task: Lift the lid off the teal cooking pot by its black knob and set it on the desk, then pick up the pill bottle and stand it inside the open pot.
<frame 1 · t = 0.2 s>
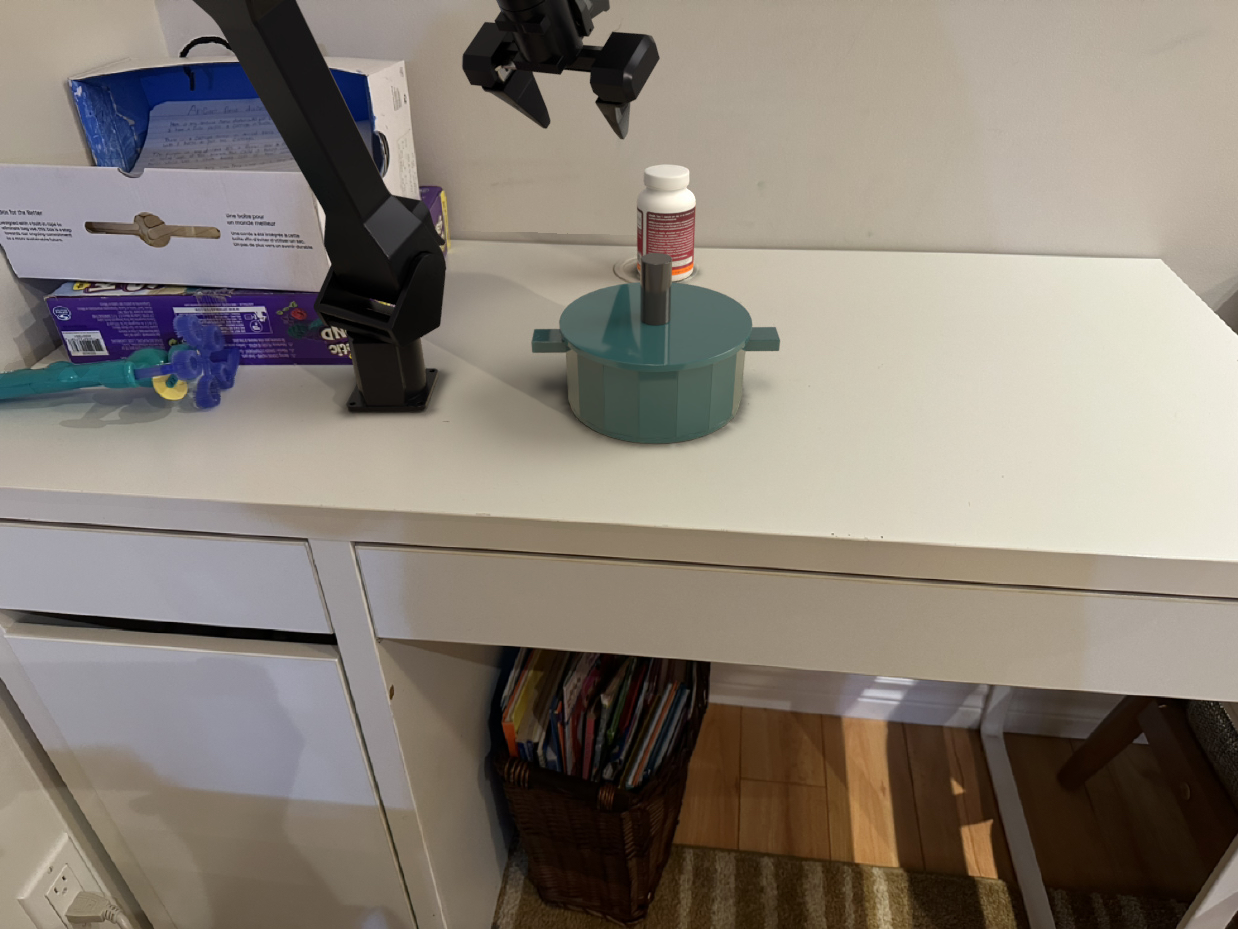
hand: (585, 130, 85), 15 cm above the table, tool tilted 30°, fingers open, 9 cm apart
tin lid: (655, 326, 67), point 6 cm above the table, touching teal cooking pot
pill bottle: (664, 274, 93), on the table
teal cooking pot: (654, 397, 70), on the table
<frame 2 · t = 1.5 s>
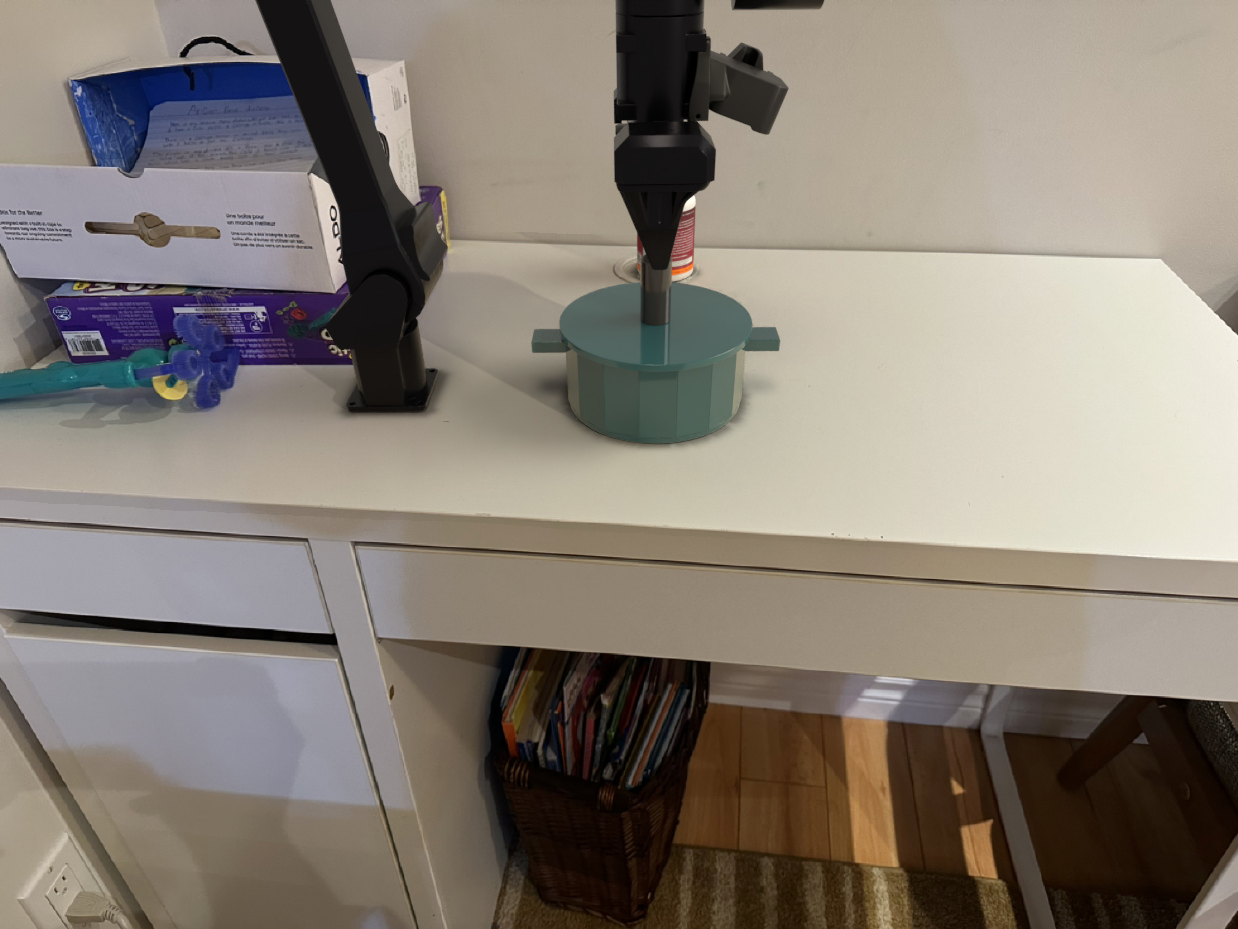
hand: (657, 245, 63), 13 cm above the table, tool pointing down, fingers open, 9 cm apart
nothing on the table moved.
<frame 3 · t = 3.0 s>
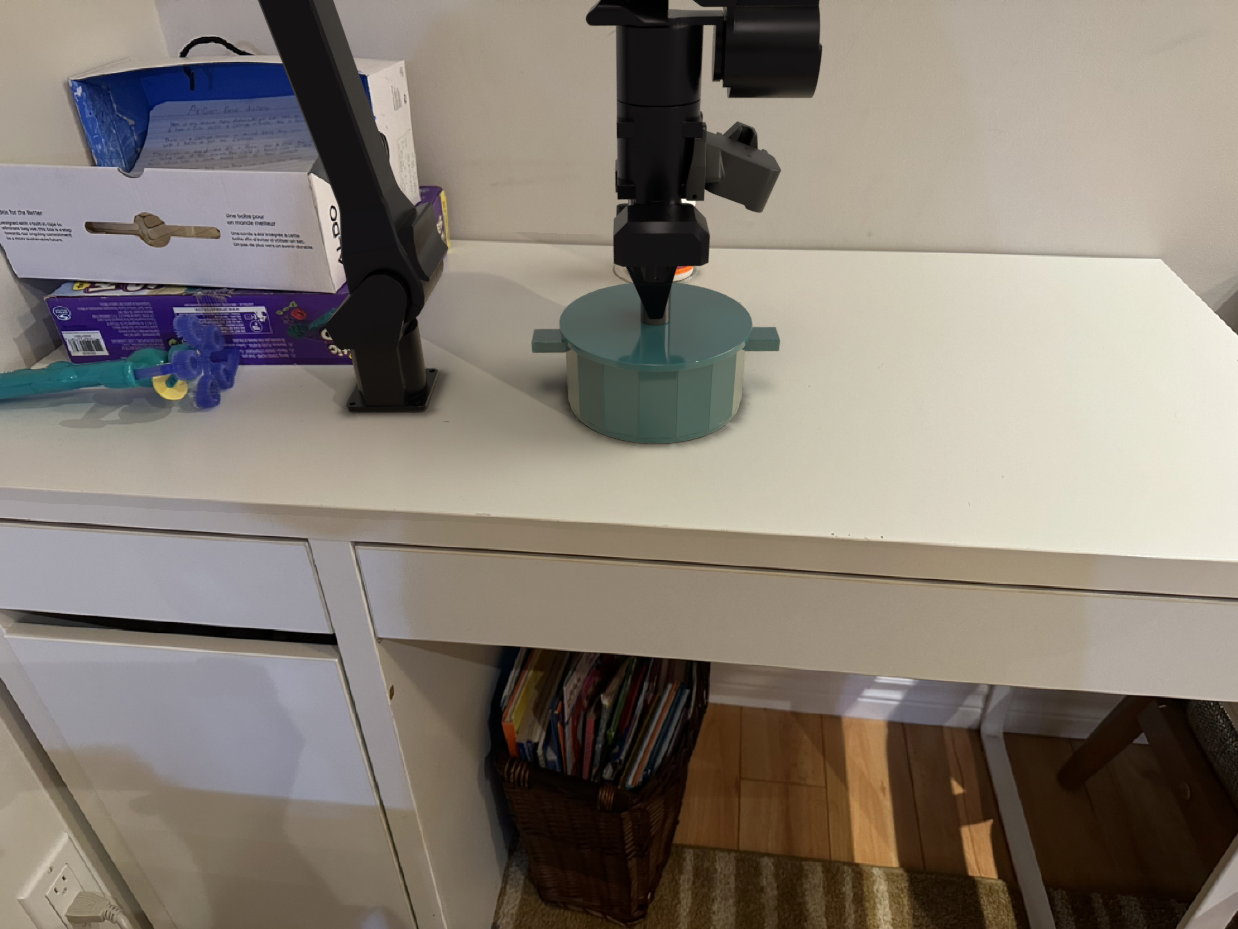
hand: (655, 310, 66), 8 cm above the table, tool pointing down, fingers closed on tin lid, 2 cm apart
tin lid: (655, 326, 67), point 6 cm above the table, touching gripper, teal cooking pot
everything else where it was.
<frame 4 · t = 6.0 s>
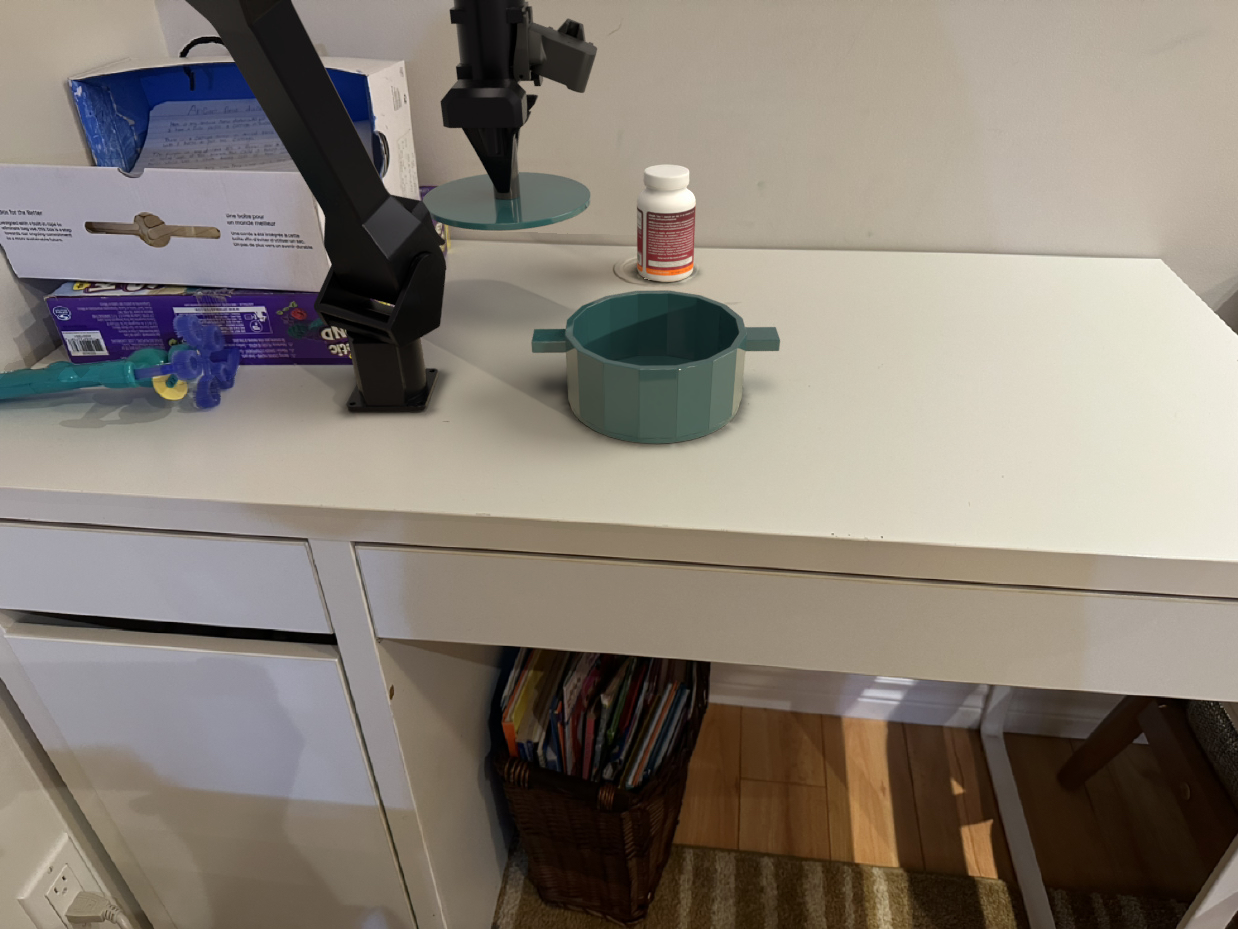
hand: (505, 187, 76), 13 cm above the table, tool pointing down, fingers closed on tin lid, 2 cm apart
tin lid: (507, 202, 77), point 11 cm above the table, touching gripper
everything else where it was.
when the fingers open (2 cm above the table, at t = 8.8 s): tin lid stays where it is, point 1 cm above the table.
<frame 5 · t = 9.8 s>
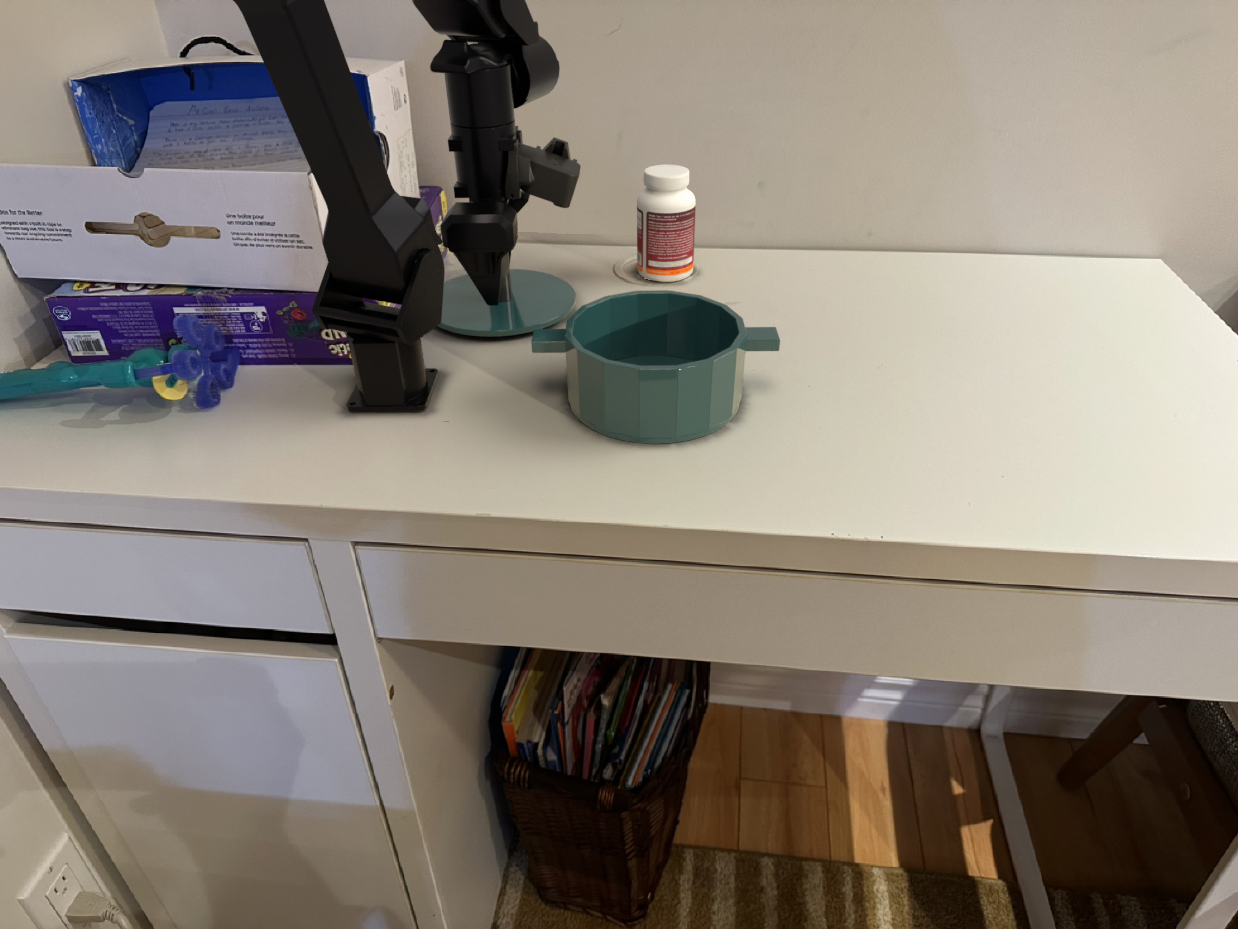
hand: (498, 285, 84), 2 cm above the table, tool pointing down, fingers open, 9 cm apart
tin lid: (500, 303, 85), point 1 cm above the table
everything else where it was.
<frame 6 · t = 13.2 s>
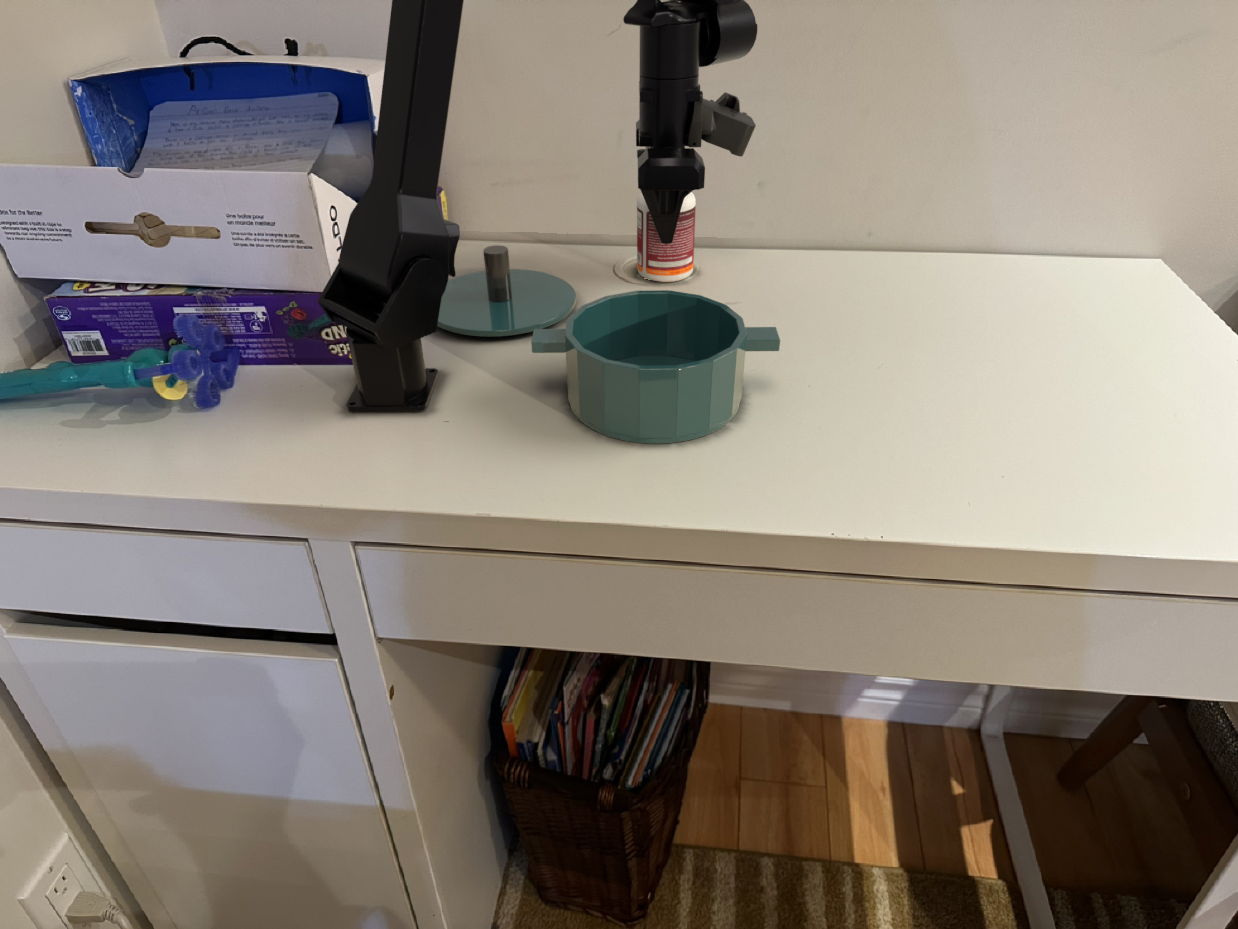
hand: (665, 232, 90), 5 cm above the table, tool pointing down, fingers closed on pill bottle, 6 cm apart
pill bottle: (664, 274, 93), on the table, touching gripper
everything else where it was.
when the fingers open (5 cm above the table, at t = 19.4 s): pill bottle stays where it is, resting on teal cooking pot.
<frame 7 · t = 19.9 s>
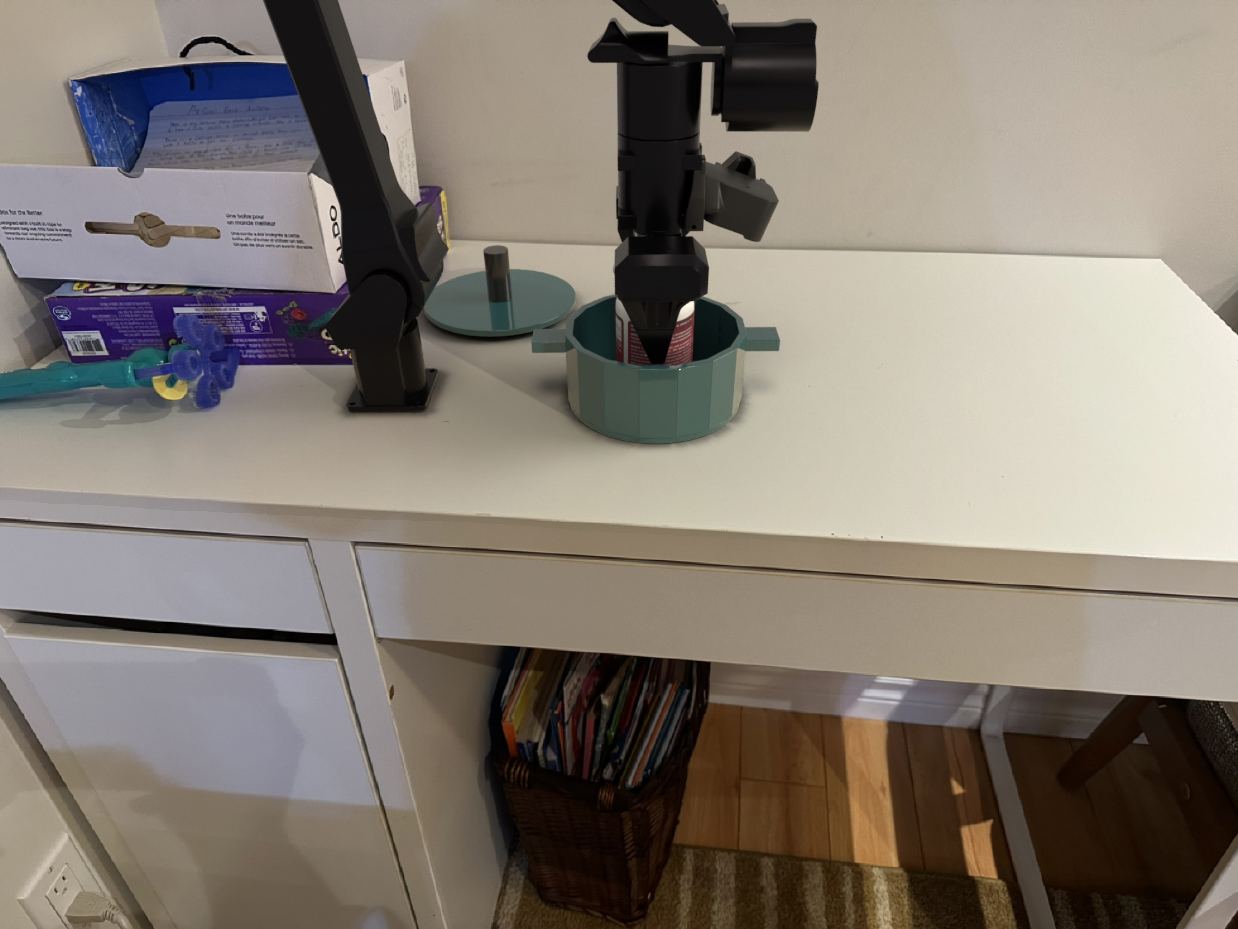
hand: (655, 335, 67), 6 cm above the table, tool pointing down, fingers open, 9 cm apart
pill bottle: (653, 393, 70), resting on teal cooking pot
everything else where it was.
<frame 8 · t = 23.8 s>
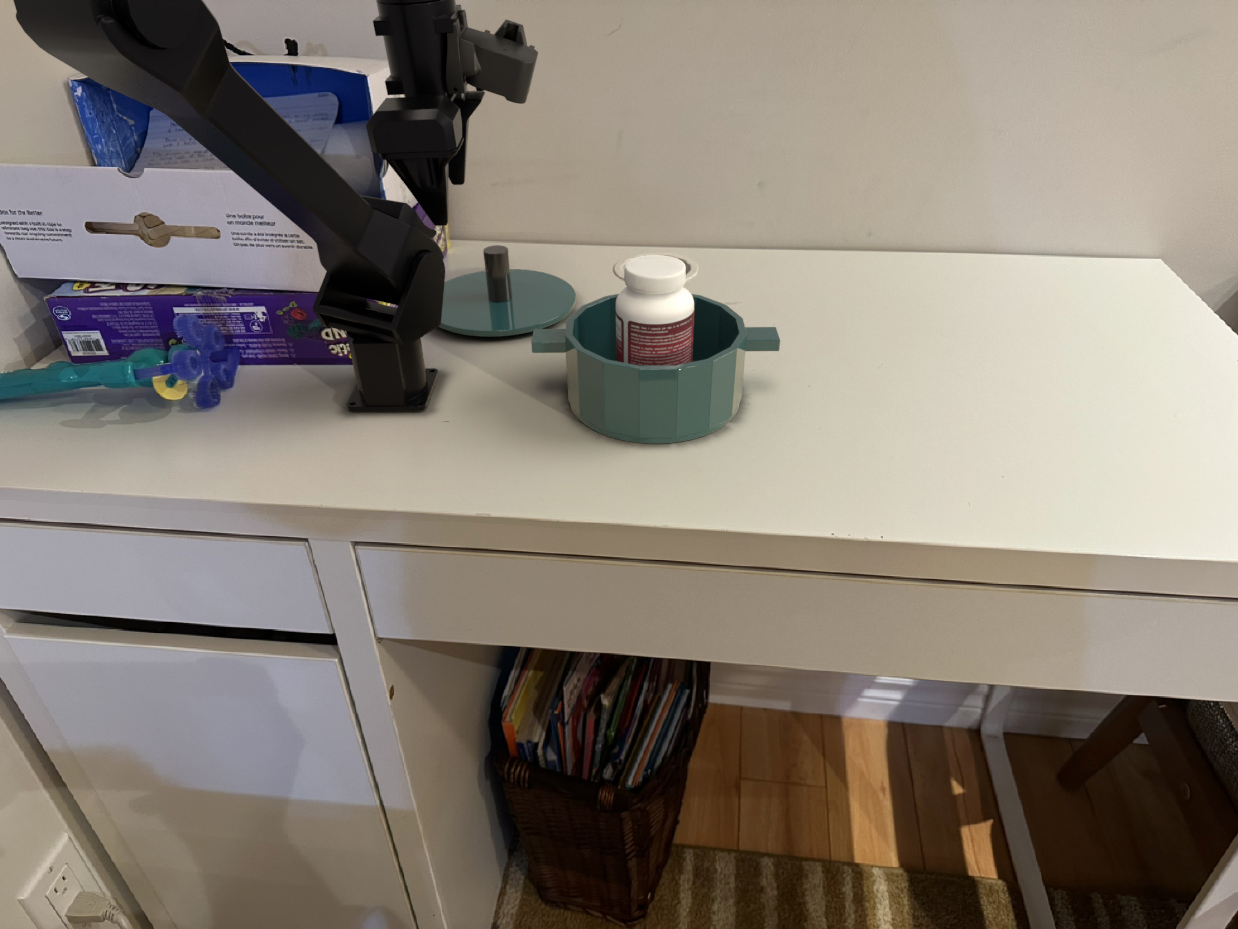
hand: (450, 203, 72), 13 cm above the table, tool pointing down, fingers open, 9 cm apart
nothing on the table moved.
at the end: tin lid inside the target area (0.1 cm from its centre), point 0.6 cm above the table; pill bottle inside the target area in the teal cooking pot (0.0 cm from its centre), point 0.3 cm above the teal cooking pot's base; pill bottle tilted 0° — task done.
